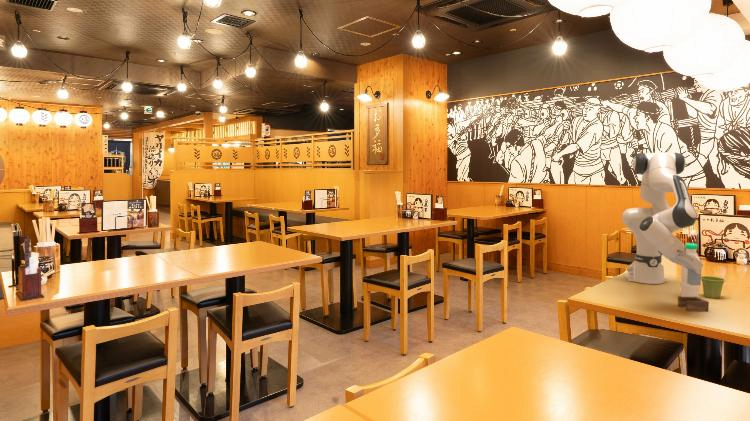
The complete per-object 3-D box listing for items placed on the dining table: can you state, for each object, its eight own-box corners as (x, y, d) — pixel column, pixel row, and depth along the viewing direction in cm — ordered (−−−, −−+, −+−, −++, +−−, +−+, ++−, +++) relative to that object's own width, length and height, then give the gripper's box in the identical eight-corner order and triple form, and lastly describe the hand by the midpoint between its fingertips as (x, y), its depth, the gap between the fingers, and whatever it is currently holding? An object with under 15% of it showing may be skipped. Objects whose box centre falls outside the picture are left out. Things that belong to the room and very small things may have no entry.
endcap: (677, 305, 207) (678, 296, 207) (697, 305, 206) (697, 296, 206) (688, 311, 199) (688, 301, 199) (708, 311, 198) (708, 301, 198)
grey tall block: (687, 283, 204) (688, 260, 203) (695, 283, 203) (696, 260, 203) (691, 285, 200) (692, 261, 199) (700, 285, 200) (701, 261, 199)
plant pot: (720, 294, 224) (721, 276, 223) (727, 300, 215) (728, 281, 214) (697, 293, 227) (697, 275, 226) (703, 298, 218) (704, 279, 217)
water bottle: (701, 299, 216) (703, 245, 214) (684, 299, 217) (686, 244, 215) (694, 295, 223) (696, 242, 220) (677, 295, 224) (679, 242, 222)
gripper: (692, 247, 191) (717, 271, 191) (666, 240, 211) (688, 262, 211) (679, 258, 192) (704, 282, 191) (655, 250, 212) (677, 272, 212)
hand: (695, 271), depth 201 cm, fingers closed on grey tall block, 3 cm apart
